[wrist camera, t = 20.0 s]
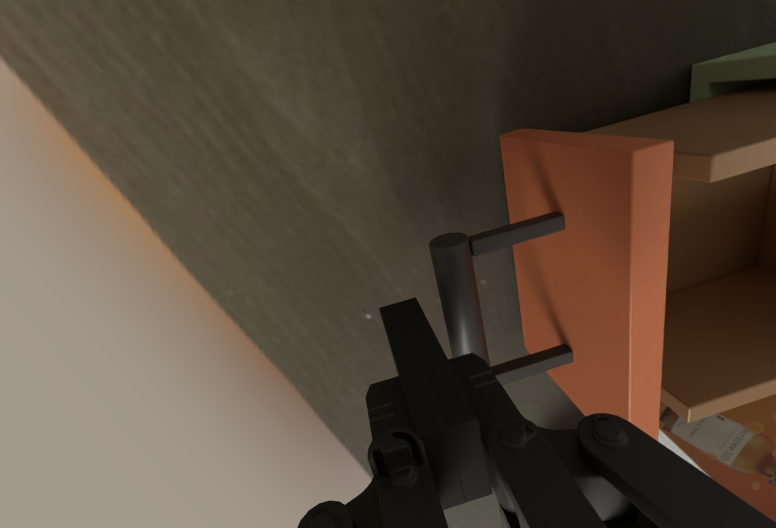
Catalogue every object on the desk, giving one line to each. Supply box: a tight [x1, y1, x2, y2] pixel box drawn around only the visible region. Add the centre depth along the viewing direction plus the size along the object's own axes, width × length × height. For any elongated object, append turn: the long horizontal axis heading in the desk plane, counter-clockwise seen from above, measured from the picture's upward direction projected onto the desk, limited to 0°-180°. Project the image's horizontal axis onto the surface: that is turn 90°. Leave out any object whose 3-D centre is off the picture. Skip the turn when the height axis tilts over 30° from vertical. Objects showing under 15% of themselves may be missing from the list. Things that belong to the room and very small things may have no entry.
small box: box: [658, 394, 776, 522], centre depth 22 cm, size 8×6×10 cm
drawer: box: [429, 79, 776, 441], centre depth 16 cm, size 18×12×8 cm, turn 104°
